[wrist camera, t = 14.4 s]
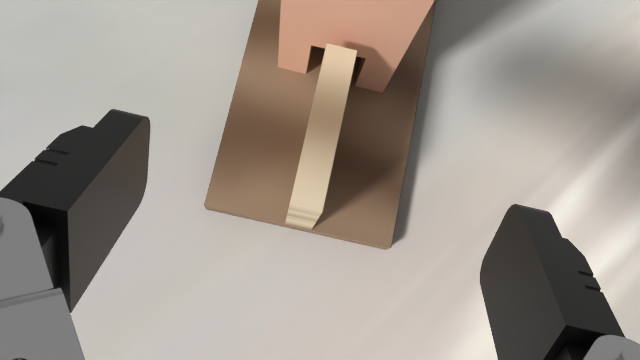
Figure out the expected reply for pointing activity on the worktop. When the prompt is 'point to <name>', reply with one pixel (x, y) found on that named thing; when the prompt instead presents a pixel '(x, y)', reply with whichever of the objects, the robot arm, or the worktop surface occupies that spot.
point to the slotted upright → (351, 33)
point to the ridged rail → (317, 139)
